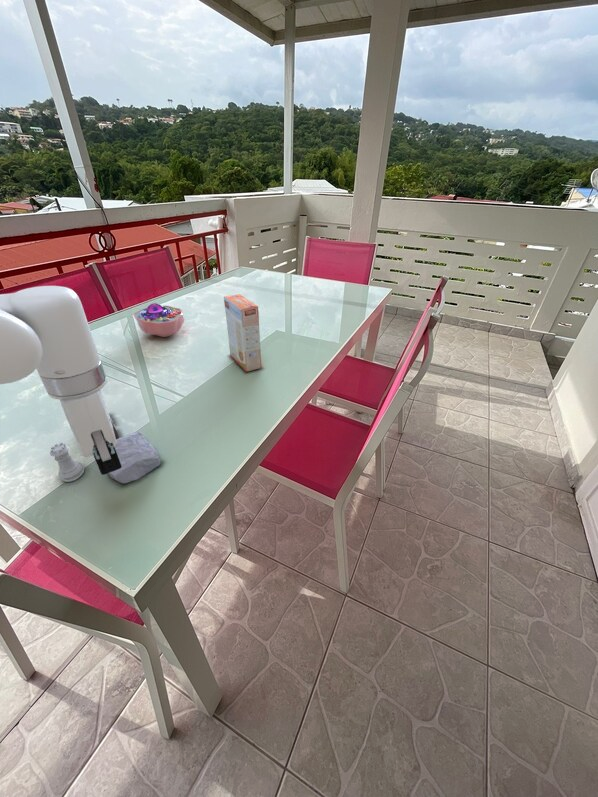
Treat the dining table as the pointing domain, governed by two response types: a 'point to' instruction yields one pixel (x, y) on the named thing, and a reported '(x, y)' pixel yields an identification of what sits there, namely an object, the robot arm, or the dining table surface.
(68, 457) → the rook chess piece
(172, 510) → the dining table surface
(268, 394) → the dining table surface
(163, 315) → the cell model
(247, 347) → the cracker box
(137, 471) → the stone block
